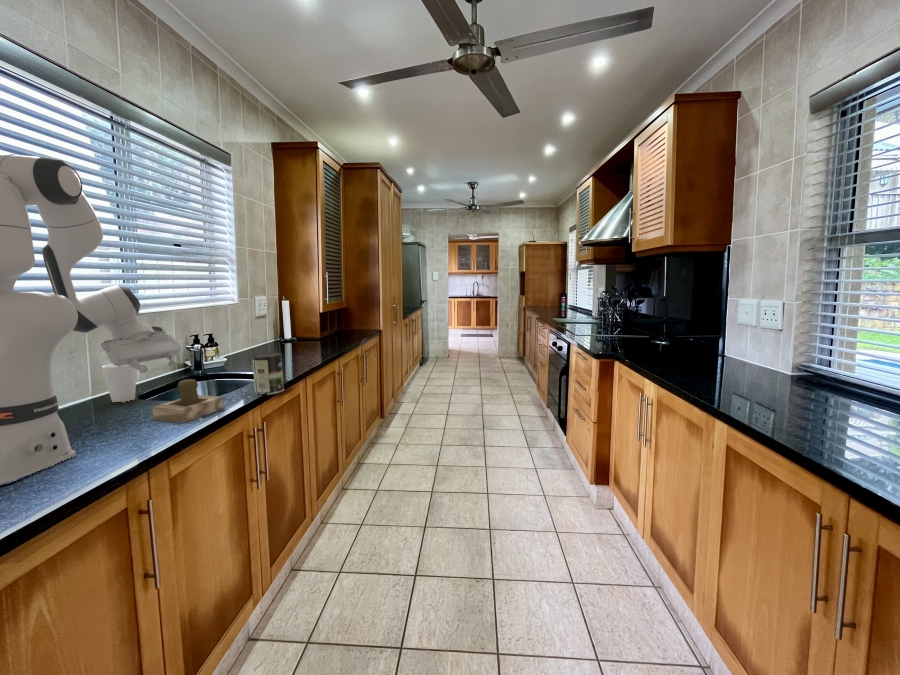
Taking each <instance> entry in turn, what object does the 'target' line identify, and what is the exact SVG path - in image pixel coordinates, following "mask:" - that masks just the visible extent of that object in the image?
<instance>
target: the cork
mask: <svg viewBox="0 0 900 675" xmlns="http://www.w3.org/2000/svg"><path fill="white" fill-rule="evenodd" d="M198 385H199V384H198V382H197V380H196V379H193V378H192V379H191V378H189V379H188V378H187V379H183V380H180V381H179V382H178V383H177V389H178V391H179V392H180V398H179V399H180V406H190V405H193V404H196V403H199V402H200V401H199V398H198V395H199V394H198V390H197V389H198Z"/></svg>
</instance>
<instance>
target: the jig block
mask: <svg viewBox="0 0 900 675" xmlns="http://www.w3.org/2000/svg"><path fill="white" fill-rule="evenodd" d="M198 398H199V401H200V402H199V403H196V404H193V405H190V406H180V398H177V399H175V400H170V401H168V402H165V403H160V404H157V405H155V406H154V405H153V406H151V407H152V416H153V421H162V422H170V423H171V422H172V423H178V422H186V423H188V422H187V421H189V422H191V421H194V420H196V418H197V419H200V418H202V417H201V416H203V415H205V416H207V415H206V414H208V413H211V412H214V411H216V412H218V411H217V410H219V411H221V410H220V409H222V408H223V409H224V400H223V396H214V395H203V394H198ZM223 409H222V410H223ZM214 413H215V412H214ZM211 414H212V413H211ZM208 415H209V414H208ZM199 417H200V418H199ZM203 417H204V416H203ZM193 419H194V420H193ZM190 420H191V421H190Z"/></svg>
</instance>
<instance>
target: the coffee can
mask: <svg viewBox="0 0 900 675" xmlns="http://www.w3.org/2000/svg"><path fill="white" fill-rule="evenodd" d="M282 356H283V354H282V352H264V353H257V354H256V353H255V354H253V355H251V359H252V360H251V361H252V370H253V382H254V393H255V392H256V393H267V395H266V396H271V395H276V394H279V393H282V392H284V391H285V383H284V374H283V373H284V371H283V370H284V369H283V358H282Z"/></svg>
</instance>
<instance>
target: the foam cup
mask: <svg viewBox="0 0 900 675" xmlns="http://www.w3.org/2000/svg"><path fill="white" fill-rule="evenodd" d="M101 372H102V374H103V377H104V380H105V383H106V387H107V389H108V393H109V396H110V397H109V398H110V399H111V402H112V403H113V402H122V403H126V401H128V402H131V401H130V400H132V401H134V400H136V389H137V388H136V384H137V369H135V368H133V367H131V366H130V365H124V366H115V365H113V364H112V363H108V364H104V365H101Z"/></svg>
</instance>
